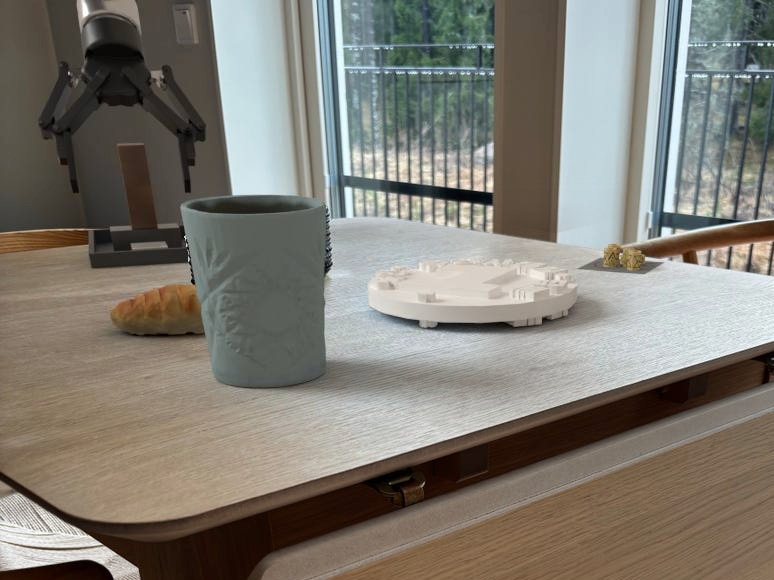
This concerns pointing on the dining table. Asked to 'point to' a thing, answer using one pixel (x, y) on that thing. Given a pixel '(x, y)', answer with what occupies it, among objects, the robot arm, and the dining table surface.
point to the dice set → (622, 261)
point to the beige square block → (149, 245)
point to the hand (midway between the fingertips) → (132, 186)
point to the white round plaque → (474, 292)
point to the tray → (131, 252)
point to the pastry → (161, 311)
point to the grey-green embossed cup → (260, 286)
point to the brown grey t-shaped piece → (140, 204)
